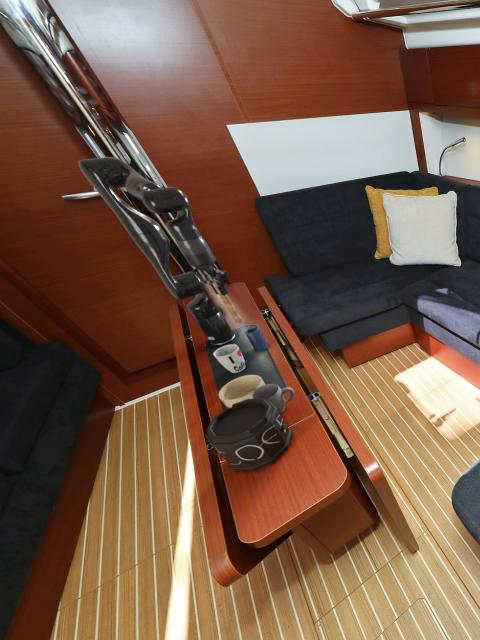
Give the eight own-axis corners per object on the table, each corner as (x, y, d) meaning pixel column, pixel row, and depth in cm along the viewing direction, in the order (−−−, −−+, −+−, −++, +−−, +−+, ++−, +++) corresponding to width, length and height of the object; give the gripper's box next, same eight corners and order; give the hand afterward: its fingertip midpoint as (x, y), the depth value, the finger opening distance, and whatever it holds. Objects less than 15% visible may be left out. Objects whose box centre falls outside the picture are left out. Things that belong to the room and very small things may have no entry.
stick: (236, 322, 131) (211, 282, 121) (242, 320, 133) (218, 280, 122) (237, 324, 130) (212, 284, 119) (243, 322, 131) (219, 282, 121)
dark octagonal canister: (289, 465, 101) (266, 434, 91) (221, 481, 96) (190, 450, 87) (301, 421, 114) (282, 390, 105) (243, 433, 110) (218, 401, 101)
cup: (238, 376, 132) (225, 358, 126) (221, 373, 134) (207, 355, 128) (254, 364, 139) (242, 345, 133) (238, 361, 140) (226, 343, 134)
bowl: (225, 400, 122) (215, 387, 118) (265, 382, 130) (256, 369, 125) (233, 419, 115) (222, 406, 111) (274, 400, 122) (266, 387, 118)
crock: (253, 348, 148) (243, 330, 142) (267, 343, 151) (257, 325, 145) (256, 353, 145) (246, 335, 139) (270, 348, 148) (260, 330, 142)
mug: (263, 424, 113) (250, 405, 107) (261, 408, 119) (248, 390, 113) (301, 409, 119) (290, 390, 113) (297, 394, 125) (287, 376, 119)
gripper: (221, 248, 115) (245, 291, 125) (191, 244, 118) (217, 287, 128) (200, 256, 109) (227, 300, 119) (169, 252, 112) (198, 296, 122)
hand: (222, 293), depth 124 cm, fingers closed on stick, 2 cm apart
